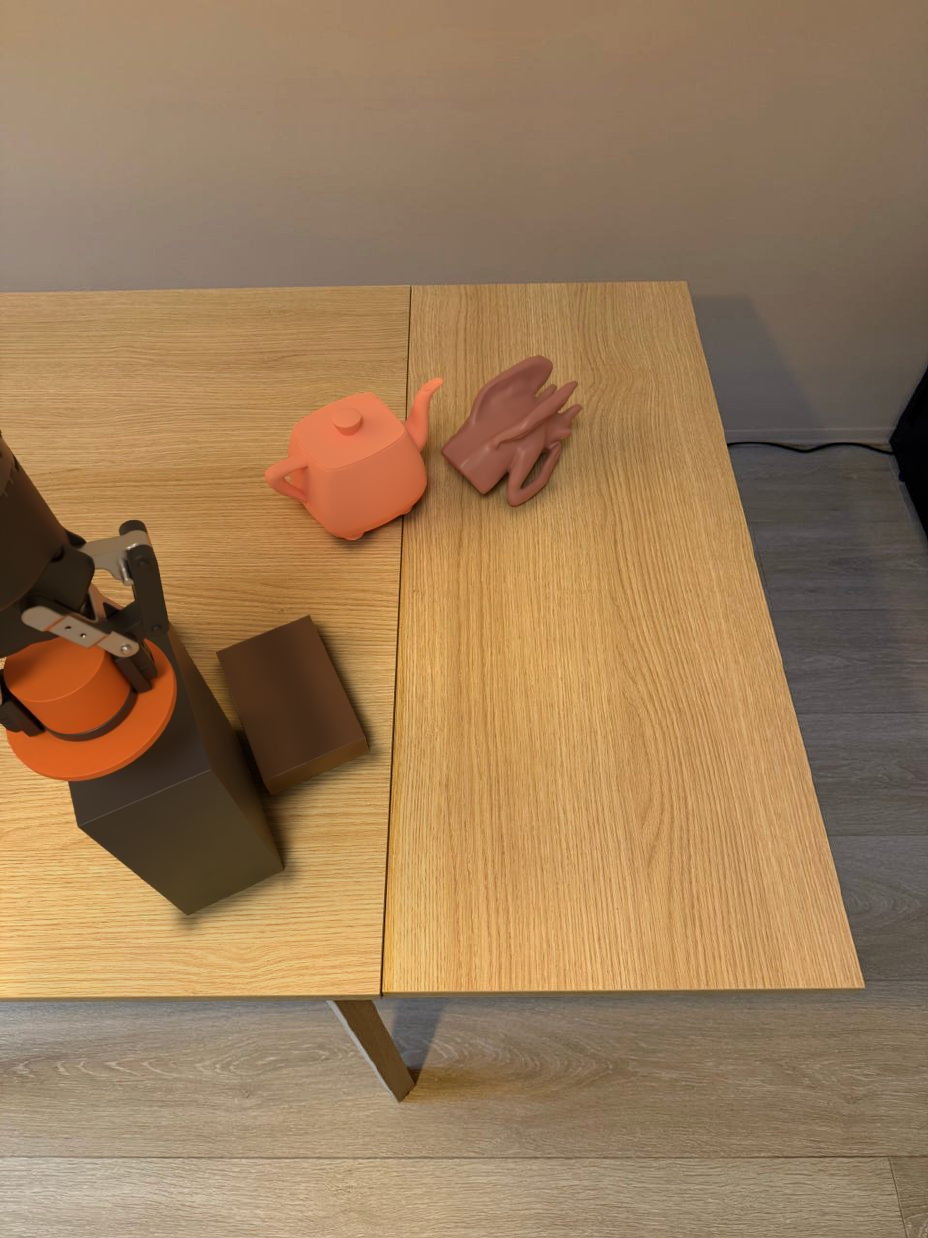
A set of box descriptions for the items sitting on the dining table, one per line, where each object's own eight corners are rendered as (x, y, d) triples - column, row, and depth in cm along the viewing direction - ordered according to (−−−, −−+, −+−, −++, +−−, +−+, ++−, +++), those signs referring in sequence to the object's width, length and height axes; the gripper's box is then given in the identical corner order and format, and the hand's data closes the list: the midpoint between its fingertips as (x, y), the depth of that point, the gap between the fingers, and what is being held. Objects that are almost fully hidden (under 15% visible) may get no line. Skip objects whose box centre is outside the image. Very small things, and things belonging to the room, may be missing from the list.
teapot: (313, 578, 81) (287, 495, 71) (260, 505, 87) (230, 420, 77) (477, 491, 87) (475, 404, 77) (418, 428, 93) (409, 340, 83)
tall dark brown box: (183, 917, 63) (72, 829, 47) (142, 767, 70) (34, 645, 54) (284, 870, 65) (211, 769, 48) (234, 729, 72) (156, 598, 56)
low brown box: (271, 796, 69) (262, 782, 66) (224, 668, 76) (215, 651, 73) (369, 752, 71) (365, 737, 68) (315, 631, 78) (309, 614, 75)
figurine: (520, 531, 89) (618, 430, 87) (484, 496, 80) (592, 382, 78) (455, 468, 95) (546, 372, 93) (414, 428, 86) (514, 321, 84)
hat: (24, 810, 41) (-28, 770, 37) (-1, 673, 46) (-50, 624, 42) (195, 738, 43) (164, 693, 39) (155, 614, 48) (124, 561, 44)
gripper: (-319, 630, 27) (-39, 815, 41) (116, 482, 30) (237, 701, 44) (-306, 480, 31) (-54, 697, 45) (78, 364, 34) (200, 600, 48)
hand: (89, 698), depth 44 cm, fingers closed on hat, 5 cm apart
